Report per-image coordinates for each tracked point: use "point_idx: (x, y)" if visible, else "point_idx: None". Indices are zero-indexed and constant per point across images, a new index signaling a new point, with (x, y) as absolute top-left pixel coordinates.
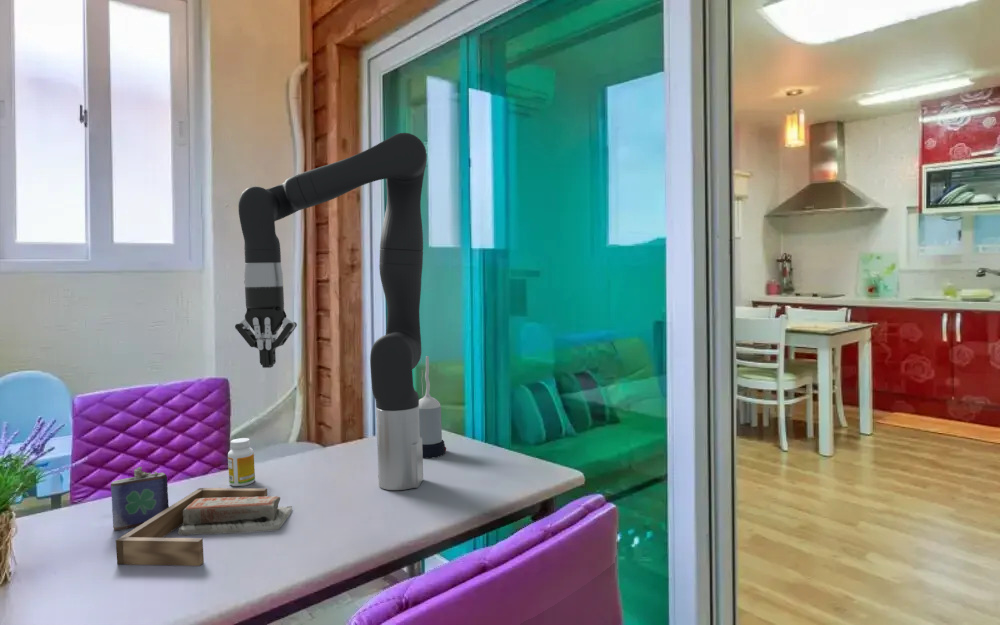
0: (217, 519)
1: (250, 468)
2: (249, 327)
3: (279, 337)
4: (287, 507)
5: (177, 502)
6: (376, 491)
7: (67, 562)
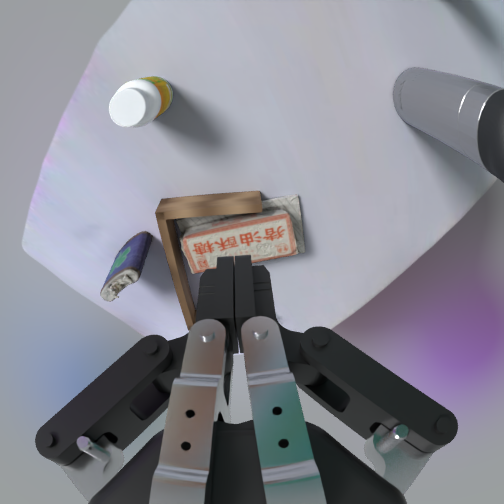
0: None
1: (166, 103)
2: (114, 453)
3: (336, 406)
4: (293, 199)
5: (168, 259)
6: (393, 124)
7: (146, 313)
